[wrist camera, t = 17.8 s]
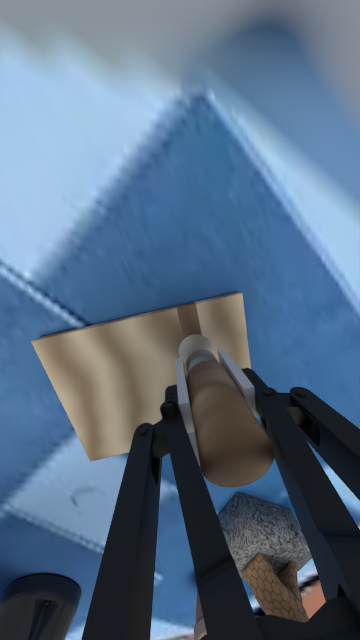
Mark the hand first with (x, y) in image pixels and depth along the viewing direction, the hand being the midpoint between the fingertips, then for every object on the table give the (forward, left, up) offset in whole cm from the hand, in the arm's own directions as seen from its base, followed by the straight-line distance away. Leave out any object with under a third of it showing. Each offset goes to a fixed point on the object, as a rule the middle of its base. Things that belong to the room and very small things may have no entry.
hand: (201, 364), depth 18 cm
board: (-6, -4, -5) cm, 9 cm away
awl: (0, 0, 0) cm, 0 cm away
